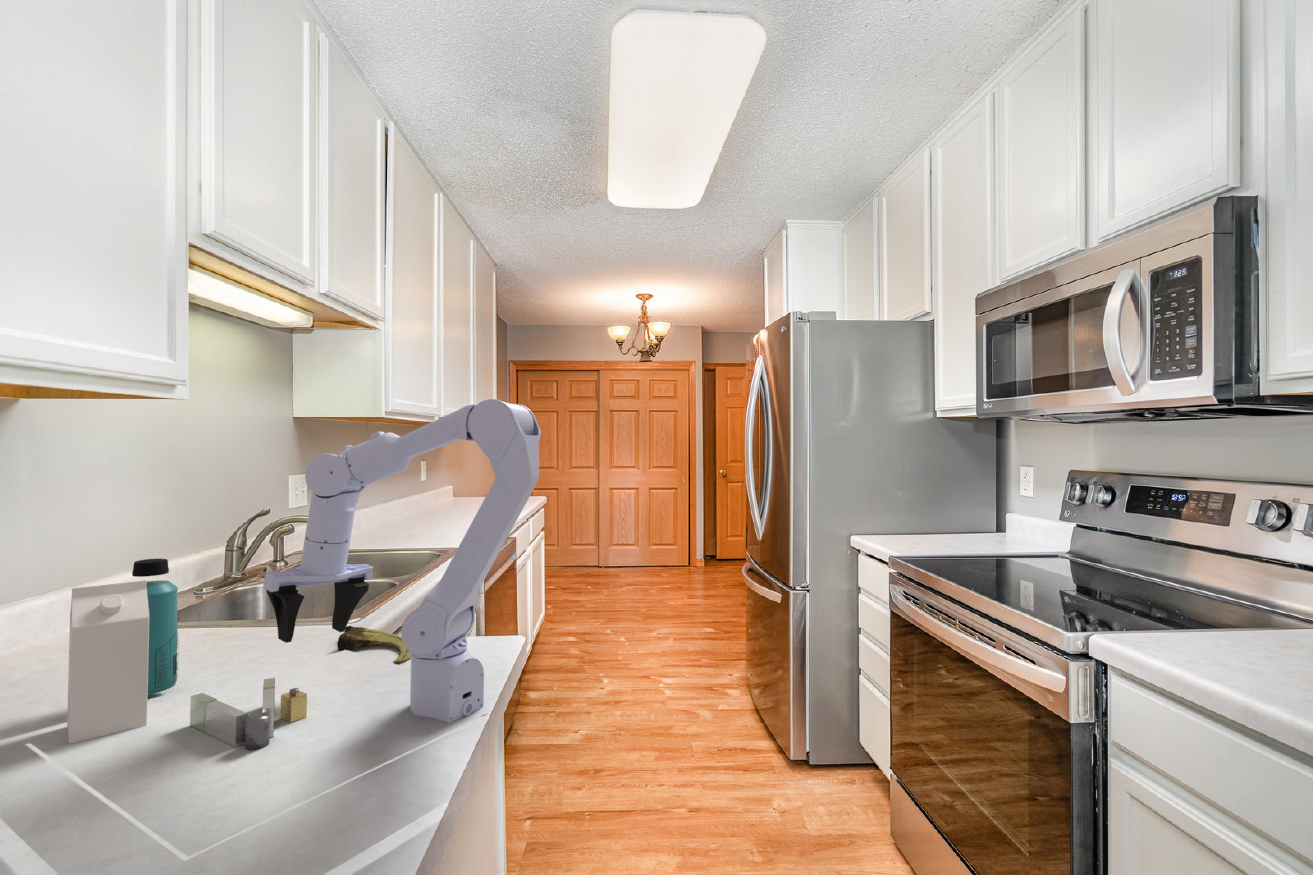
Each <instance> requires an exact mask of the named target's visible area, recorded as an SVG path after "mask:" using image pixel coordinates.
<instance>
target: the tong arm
mask: <svg viewBox="0 0 1313 875" xmlns="http://www.w3.org/2000/svg"><path fill="white" fill-rule="evenodd" d="M262 686H263V687H262V706H261V707H262V709H261V710H262V712H266V713H269V714H270V736H269V738H273V737H274V735H275V734H274V729H275V728H274V726H275V724H274V722H275V721H274V720H275V705H276V704H275V703H276V702H275V700H276V699H275V697H276V696H275V695H276V677H272V678H271V677H270V678H265V679H263V685H262ZM262 712H261V713H262Z"/></svg>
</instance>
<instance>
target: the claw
mask: <svg viewBox="0 0 1313 875" xmlns="http://www.w3.org/2000/svg"><path fill="white" fill-rule="evenodd" d="M336 646H337V650H338V651H340V652H343V651H349V650H348V649H351V650H356V648H357V649H359V648H361V646H362V647H364V646H365V647H366V646H390V647H394V648H395V649H398V650H399V651H400V654H399V655H398V657H397V658H396V659H395V660H393V661H392V663H393V664H400V663H404V662H406V661H409V660H411V657H410V651H409V650H408V649H407V648H406V646H405V645H404V643H403V640H402V636H401V635H398V634H394V633H391V632H388V631H384V630H380V629H375V628H373V629H372V628H368V627H362V626H356V627H355V626H352V625H347V626H346V628H345V631H344V632H342V633H341V634H340V635H339V637H338V640H337V645H336Z"/></svg>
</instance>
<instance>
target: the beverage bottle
mask: <svg viewBox="0 0 1313 875" xmlns="http://www.w3.org/2000/svg"><path fill="white" fill-rule="evenodd" d="M169 572H170V568H169V560H168V559H167V558H147V559H140V560H136V561H135V562H134V563H133V568H132V572H131V574H132V575H131V576H132V577H137V578H138V577H139V578H142V577H143V578H144V577H155V576H163V575H166V574H167V575H168V574H169ZM178 591H179V588H178V586H177V585H175V584H174V583H172V582H171V581H170V580H150V581H148V580H147V597H148V607H149V653H148V695H147V696H149V695H153V694H158V693H161V692H165V691H166V690H170V689H172V688H173V687H174V686H176V683H177V680H178V678H179V674H178V671H179V668H178V667H179V659H178V656H179V653H178V650H179V643H178V642H179V641H180V640H179V636H180V635H179V631H178V629H179V626H178V621H179V618H178Z"/></svg>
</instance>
